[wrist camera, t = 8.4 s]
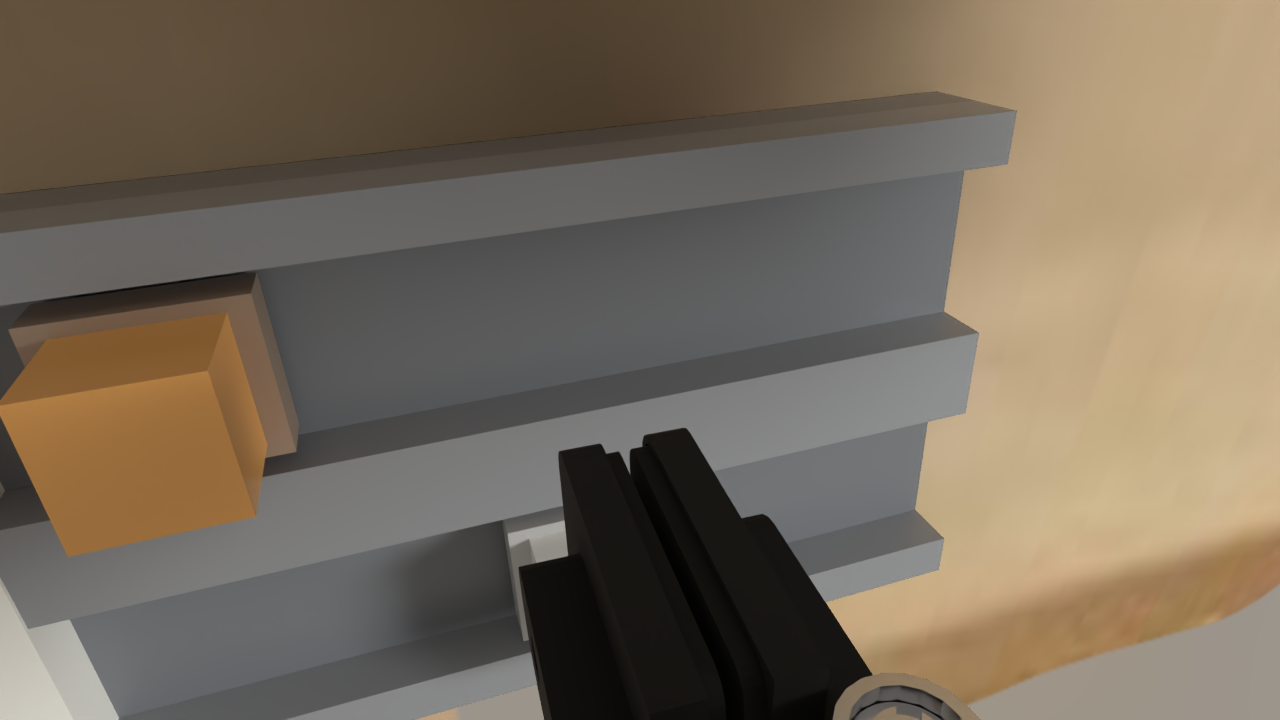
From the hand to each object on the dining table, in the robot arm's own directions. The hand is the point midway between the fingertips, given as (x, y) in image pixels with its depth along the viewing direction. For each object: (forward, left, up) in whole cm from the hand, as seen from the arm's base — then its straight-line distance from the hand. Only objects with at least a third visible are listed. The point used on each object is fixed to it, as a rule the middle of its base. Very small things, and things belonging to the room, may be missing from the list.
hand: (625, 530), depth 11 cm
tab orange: (+7, +1, -9) cm, 11 cm away
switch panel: (+3, +4, -11) cm, 12 cm away
